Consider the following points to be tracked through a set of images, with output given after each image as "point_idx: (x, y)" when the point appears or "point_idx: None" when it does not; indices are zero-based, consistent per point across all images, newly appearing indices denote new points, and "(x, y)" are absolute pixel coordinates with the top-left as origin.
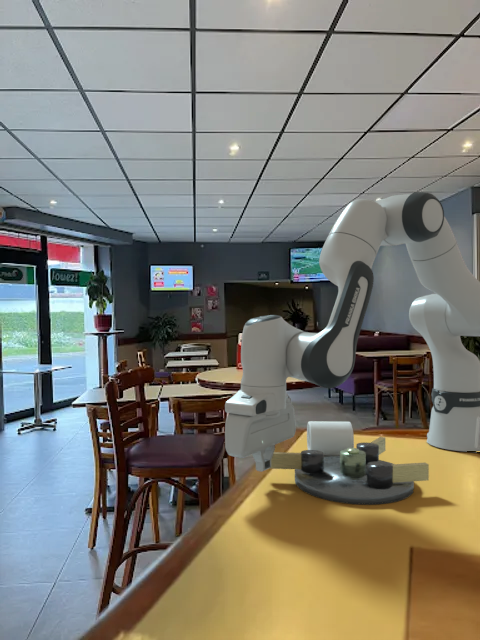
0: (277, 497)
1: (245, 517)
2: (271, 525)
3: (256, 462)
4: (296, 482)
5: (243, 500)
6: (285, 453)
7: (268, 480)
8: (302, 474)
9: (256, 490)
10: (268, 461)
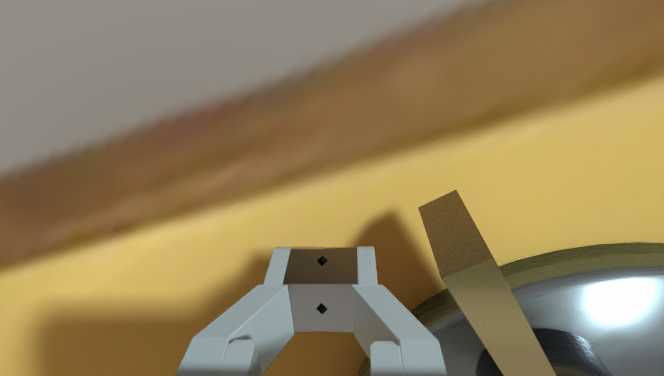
0: None
1: (50, 304)
2: (87, 369)
3: (266, 283)
4: (434, 306)
5: (136, 228)
6: (522, 371)
7: (424, 180)
8: (461, 349)
9: (265, 208)
10: (339, 326)
